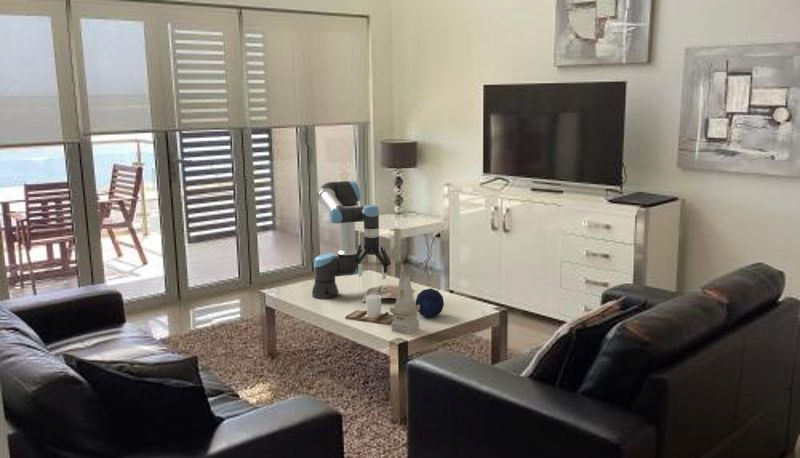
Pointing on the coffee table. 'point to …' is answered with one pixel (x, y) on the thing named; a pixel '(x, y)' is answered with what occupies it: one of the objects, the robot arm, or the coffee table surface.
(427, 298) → the decorative orb
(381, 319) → the brown wooden board
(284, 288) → the coffee table surface
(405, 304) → the miniature monument
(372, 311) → the white cup
